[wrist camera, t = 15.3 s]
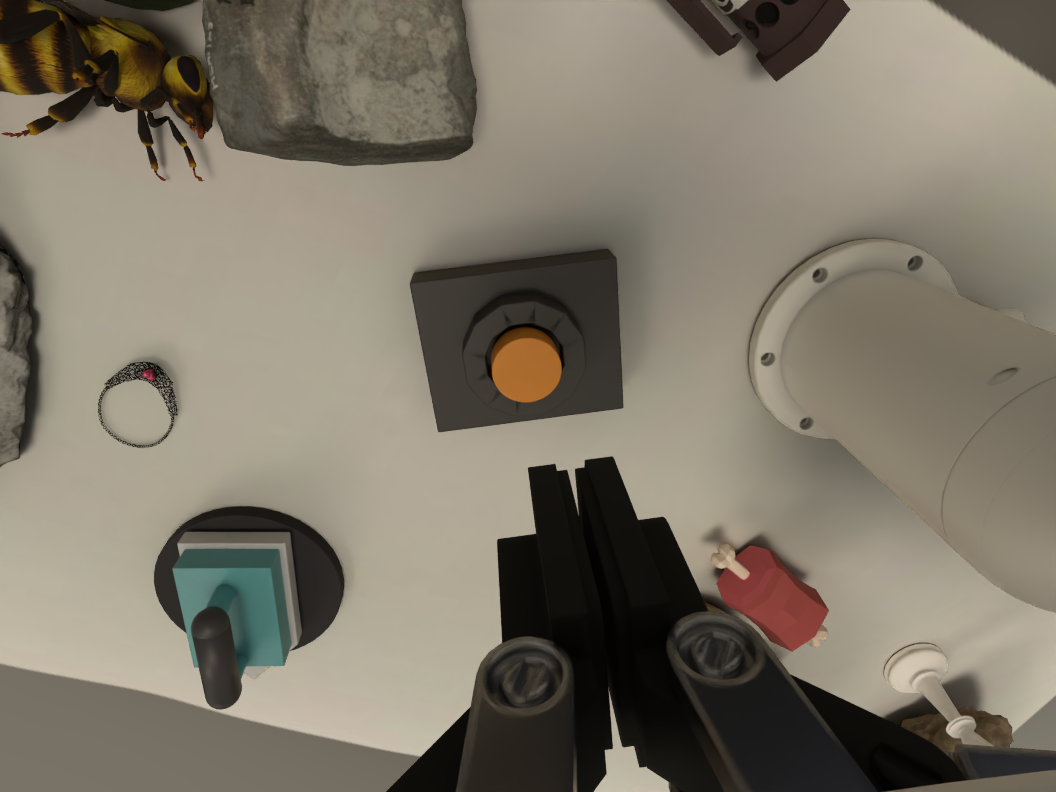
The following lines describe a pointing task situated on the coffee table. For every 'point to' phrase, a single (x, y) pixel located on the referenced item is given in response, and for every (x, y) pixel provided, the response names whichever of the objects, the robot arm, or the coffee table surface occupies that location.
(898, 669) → the chess piece
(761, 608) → the meat
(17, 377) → the fossil stone
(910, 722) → the stone
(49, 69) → the insect
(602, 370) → the switch block
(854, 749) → the robot arm
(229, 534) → the iron
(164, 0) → the wine bottle
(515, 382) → the button
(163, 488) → the coffee table surface
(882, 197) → the coffee table surface
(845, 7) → the brown perforated bar
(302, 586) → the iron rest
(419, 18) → the stone
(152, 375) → the ring
